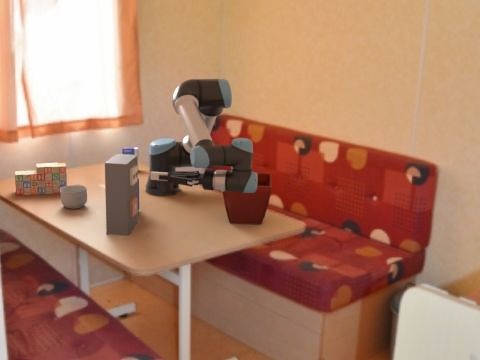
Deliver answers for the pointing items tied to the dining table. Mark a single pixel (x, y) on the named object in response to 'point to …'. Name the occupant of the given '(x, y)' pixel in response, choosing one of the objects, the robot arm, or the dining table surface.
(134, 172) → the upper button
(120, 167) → the button post
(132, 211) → the lower button
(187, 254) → the dining table surface
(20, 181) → the stack of blocks
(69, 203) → the teacup
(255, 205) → the plant pot
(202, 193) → the dining table surface
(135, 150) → the walkman
